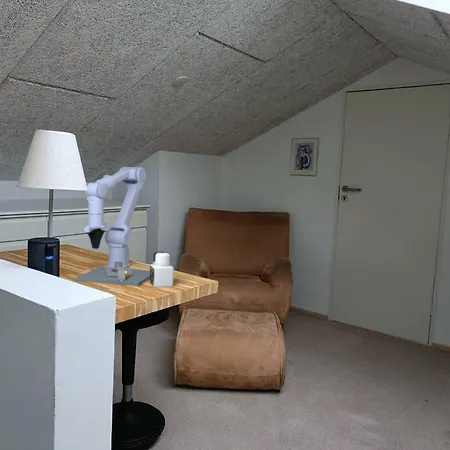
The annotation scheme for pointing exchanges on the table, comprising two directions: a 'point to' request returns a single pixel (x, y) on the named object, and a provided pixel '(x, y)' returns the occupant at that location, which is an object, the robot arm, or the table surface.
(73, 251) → the table surface
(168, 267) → the medicine bottle
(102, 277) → the board
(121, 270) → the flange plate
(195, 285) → the table surface
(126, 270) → the dowel
